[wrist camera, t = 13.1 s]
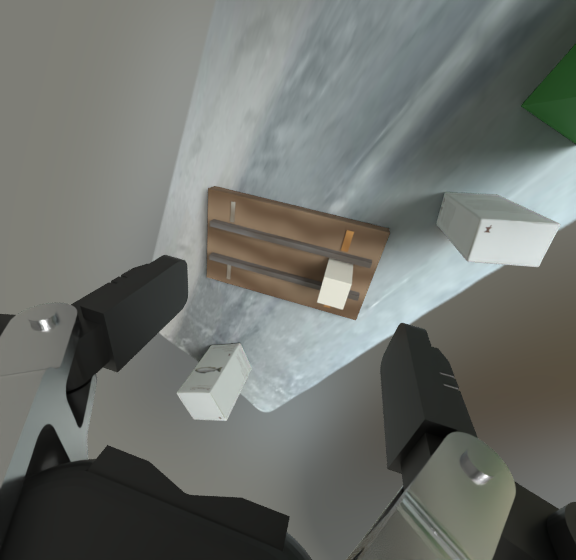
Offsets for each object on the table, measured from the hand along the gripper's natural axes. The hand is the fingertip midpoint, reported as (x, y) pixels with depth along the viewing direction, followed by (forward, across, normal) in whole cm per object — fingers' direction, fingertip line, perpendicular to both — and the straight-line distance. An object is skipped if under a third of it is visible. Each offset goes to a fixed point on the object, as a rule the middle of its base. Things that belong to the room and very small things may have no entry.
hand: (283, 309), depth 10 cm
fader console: (+30, +5, +12) cm, 33 cm away
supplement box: (+30, +13, +39) cm, 51 cm away
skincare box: (+30, -16, 0) cm, 34 cm away
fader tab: (+28, -3, +12) cm, 30 cm away
